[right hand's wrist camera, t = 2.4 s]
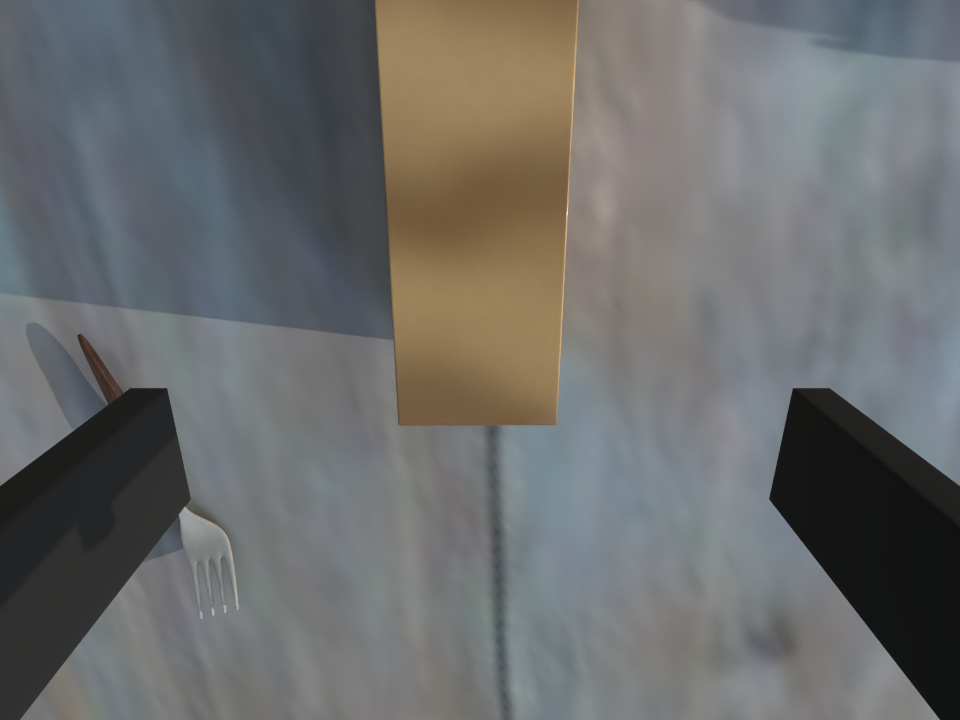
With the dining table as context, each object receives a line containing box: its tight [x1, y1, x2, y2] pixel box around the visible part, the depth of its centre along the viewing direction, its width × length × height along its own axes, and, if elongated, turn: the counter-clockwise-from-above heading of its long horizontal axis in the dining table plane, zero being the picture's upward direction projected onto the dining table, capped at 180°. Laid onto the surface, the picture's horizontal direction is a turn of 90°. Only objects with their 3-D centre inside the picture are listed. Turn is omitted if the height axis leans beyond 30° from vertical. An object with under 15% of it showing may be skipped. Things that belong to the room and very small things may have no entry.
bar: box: [374, 0, 579, 425], centre depth 20 cm, size 24×6×8 cm, turn 0°
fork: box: [78, 334, 239, 619], centre depth 30 cm, size 3×16×2 cm, turn 17°
